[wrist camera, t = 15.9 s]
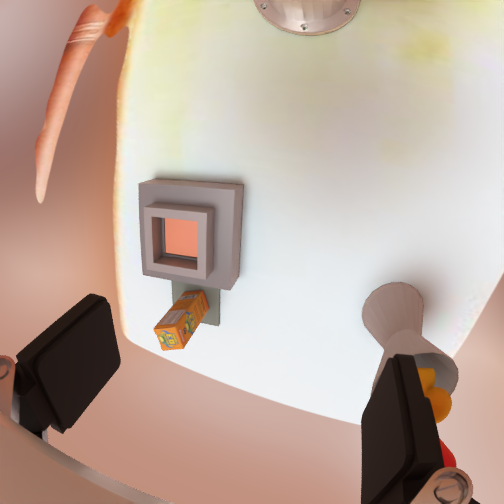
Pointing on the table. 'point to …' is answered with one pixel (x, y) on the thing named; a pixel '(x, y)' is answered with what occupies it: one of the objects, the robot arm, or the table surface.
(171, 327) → the supplement box
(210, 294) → the rest mat
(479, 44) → the table surface
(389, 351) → the lava lamp
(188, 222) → the breaker button
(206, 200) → the frame
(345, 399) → the table surface
